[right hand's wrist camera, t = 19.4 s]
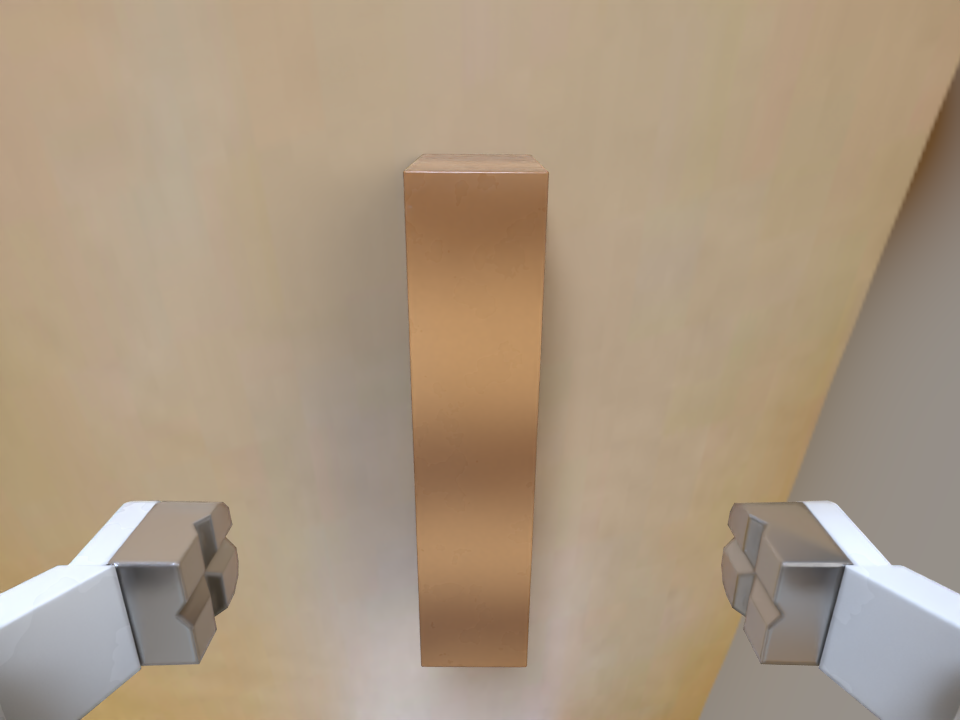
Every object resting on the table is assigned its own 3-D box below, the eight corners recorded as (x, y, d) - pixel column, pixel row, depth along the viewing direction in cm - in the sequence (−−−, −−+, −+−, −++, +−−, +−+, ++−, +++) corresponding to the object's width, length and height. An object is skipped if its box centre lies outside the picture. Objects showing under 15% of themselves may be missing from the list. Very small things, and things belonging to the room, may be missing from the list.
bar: (421, 154, 30) (402, 170, 22) (532, 154, 30) (549, 171, 22) (432, 560, 38) (421, 667, 31) (517, 560, 38) (526, 667, 31)
